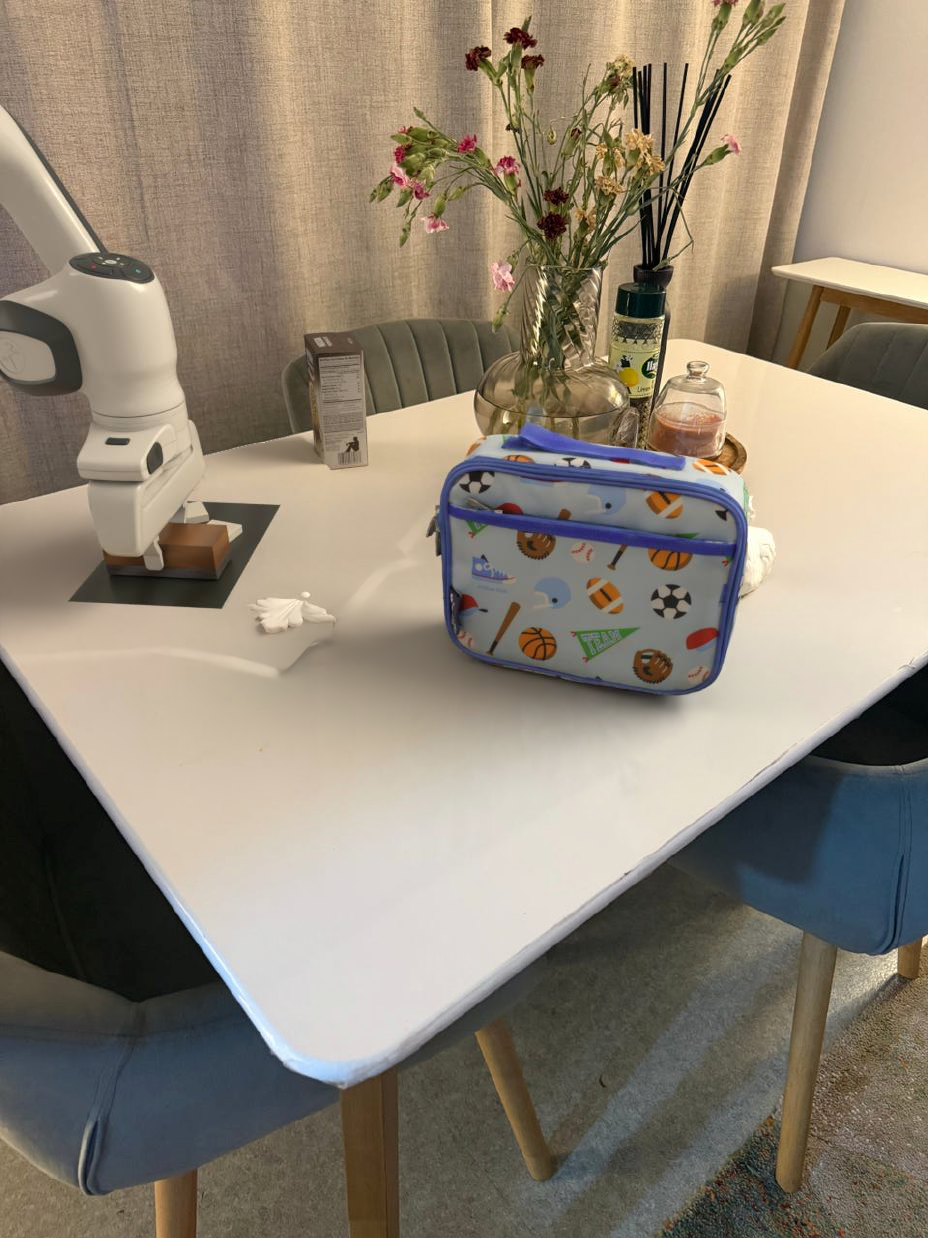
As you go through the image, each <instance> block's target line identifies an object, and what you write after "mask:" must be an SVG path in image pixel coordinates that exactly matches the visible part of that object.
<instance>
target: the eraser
mask: <svg viewBox="0 0 928 1238" xmlns="http://www.w3.org/2000/svg"><path fill="white" fill-rule="evenodd" d="M158 535H159V541H158V542H157V543H158V545H159V547H160V549H165V554H166V559H167V562H166V564H165V565H164V566H163V568H162V569H161V570H149V569H147V568H146V566H145V561H144V557H143V555H141V556H139V557H122V556H111V555H109V554H108V553H107V552H106V551H105V550H104V549H103V548H102V547H101V550H102V554H103V555H102V556H103V559H105V563H106V568H107V572H108V574H114V575H134V576H155V577H175V578H195V579H215V580H218V578H219V577H220V575H221V573H222V572H223V570H224V569H225V567H226V565H227V564H228V562H229V560H230V559H231V557H232V555H231V549H230V543H229V537H228V530H227V525H217V524H195V523H173V522H168V523H167V524H166V526H165V527H164V528H163V529H162V531H161V532H160V533H159V534H158Z"/></svg>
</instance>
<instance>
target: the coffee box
mask: <svg viewBox="0 0 928 1238" xmlns="http://www.w3.org/2000/svg"><path fill="white" fill-rule="evenodd" d="M303 341H304V342H303V343H304V351H305V362H306V363H305V364H306V372H307V382H308V391H309V402H310V413H311V424H312V434H313V444H314V448H315V451H316V453H317V455H318V457H319V458H320V459H321V461H322V463H323V465H324V466H325V465H326V467H328V469H330V470H337V469H346V468H348V469H349V468H355V467H356V468H357V467H364V466H365V467H366V466H368V465H369V452H368V451H369V449H368V448H369V447H368V431H367V429H368V428H367V409H366V407H367V406H366V385H365V369H364V368H365V367H364V352H363V348H361V345H360V344H359V343H358V341H356V339H355V338H354V336H353V335H352V334H351V333H350V331H338V332H337V331H336V332H334V331H325V332H310V333H304V334H303Z"/></svg>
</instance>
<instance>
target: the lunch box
mask: <svg viewBox="0 0 928 1238" xmlns="http://www.w3.org/2000/svg"><path fill="white" fill-rule="evenodd" d="M749 496H750V494H749V491H748V487H747V484H746V482H745V480H744V479H743V478H742V476H741V475H739V473H738V472H736V471H735V470H734V469H732V468H730V467H729V466H726V465H723V464H721V463H718V462H715V461H711V460H708V459H702V458H700V457H699V458H698V457H694V456H689V455H688V456H687V455H681V454H676V453H669V452H664V451H663V452H662V451H656V450H655V451H654V450H646V449H640V448H633V447H632V448H631V447H624V446H616V445H607V444H599V443H593V442H587V441H583V440H578V439H575V438H572V437H568V436H566V435H562V434H560V433H557V432H555V431H551V430H549V429H547V428H545V427H543V426H541V425H540V424H537V423H536V422H535V423H534V422H529V421H528V422H525V423H524V424H523V425H522V427H521V428H520V430H519V432H518V434H507V433H505V434H504V433H502V434H501V433H500V434H489V435H485V436H483V437H480V438H478V439H477V440H475V441H474V442H473V443H472V444H471V445H470V447H469V448H468V450H467V452H466V454H465V458H464V459H463V461H461V462H460V463H458V464H456V465H455V466H453V468H452V467H451V469H450V471H448V473H447V475H446V478H445V480H444V482H443V485H442V488H441V492H440V496H439V504H435V506H434V507H435V508H434V509H435V513H434V514H435V515H433V516H432V517H431V520H430V522H429V525H428V528H427V530H426V533H425V538H426V539H427V538H429V537H432V536H433V535H434V533H435V537H434V538H435V539H434V543H435V544H434V545H435V557H440V559H441V560H440V561H441V580H442V581H441V582H442V599H443V600H442V601H443V615H444V623H445V628H446V631H447V634H448V636H449V638H450V640H451V642H452V643H453V644H454V645H455V646H456V647H457V648H458V649H459V651H462V652H463V653H464V654H465V655H467V656H469V657H471V658H473V659H476V660H478V661H481V662H484V663H486V664H489V665H491V666H495V667H503V668H510V669H514V670H521V671H524V672H525V671H526V672H531V673H535V674H540V675H545V676H549V677H554V678H559V679H562V680H567V681H571V682H577V683H582V684H591V685H598V686H602V687H603V686H604V687H610V688H616V689H624V690H629V691H630V690H631V691H637V692H645V693H651V694H653V695H665V696H686V695H690V694H695V693H697V692H700V691H703V690H705V689H707V688H709V687H710V686H712V685H713V684H714V683H715V682H716V681H717V679H718V677H719V676H720V674H721V672H722V670H723V666H724V664H725V660H726V656H727V653H728V649H729V647H730V643H731V640H732V637H733V633H734V630H735V626H736V622H737V618H738V617H737V616H738V612H739V611H738V610H739V605H740V601H741V596H742V595H741V591H742V586H743V581H744V577H745V571H746V564H747V552H748V526H749V525H748V523H747V520H748V517H747V515H748V508H749Z"/></svg>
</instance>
